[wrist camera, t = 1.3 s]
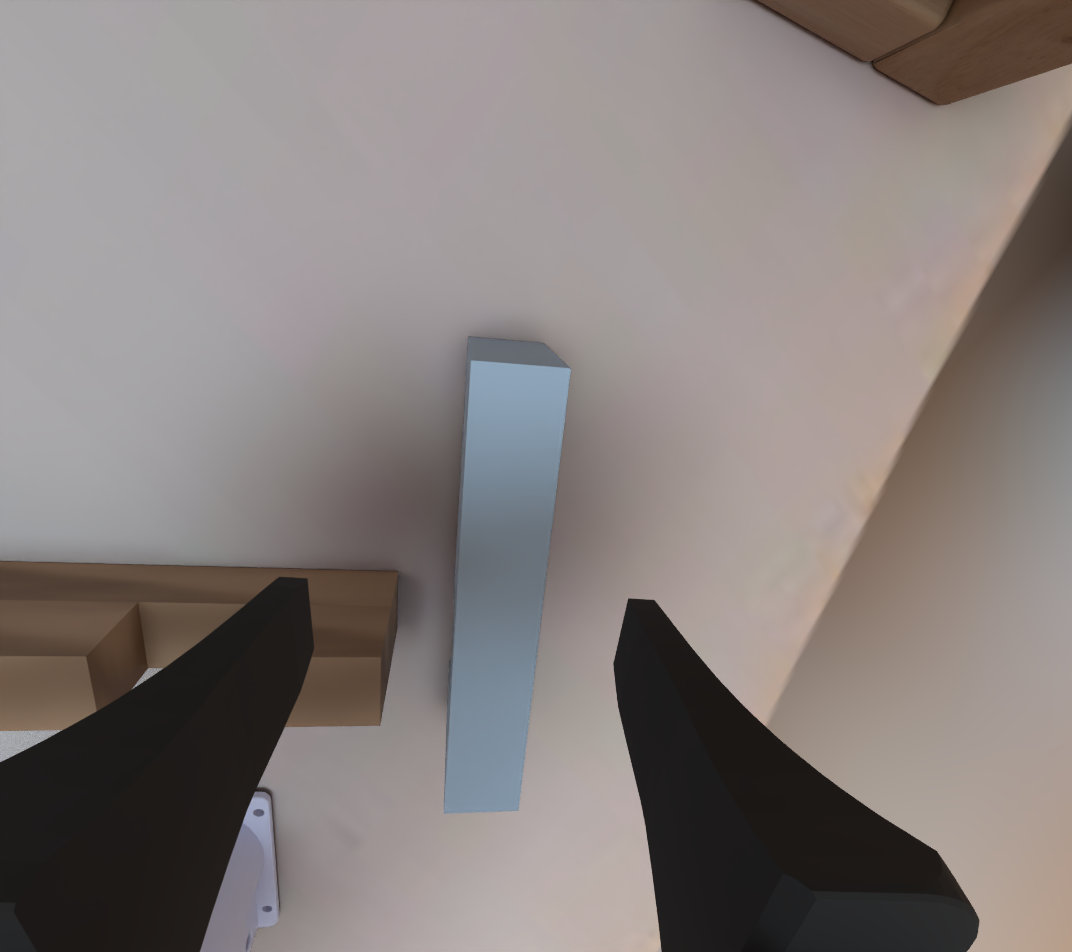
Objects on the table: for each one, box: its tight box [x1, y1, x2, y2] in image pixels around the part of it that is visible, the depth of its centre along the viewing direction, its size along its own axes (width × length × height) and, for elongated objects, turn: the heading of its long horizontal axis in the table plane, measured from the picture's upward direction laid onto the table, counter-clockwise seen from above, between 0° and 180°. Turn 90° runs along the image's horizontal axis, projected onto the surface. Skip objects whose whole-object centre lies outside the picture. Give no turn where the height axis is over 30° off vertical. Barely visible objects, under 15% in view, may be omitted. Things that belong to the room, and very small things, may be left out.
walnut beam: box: [0, 561, 398, 731], centre depth 22 cm, size 3×20×6 cm, turn 84°
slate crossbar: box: [444, 337, 571, 813], centre depth 23 cm, size 18×3×6 cm, turn 174°
